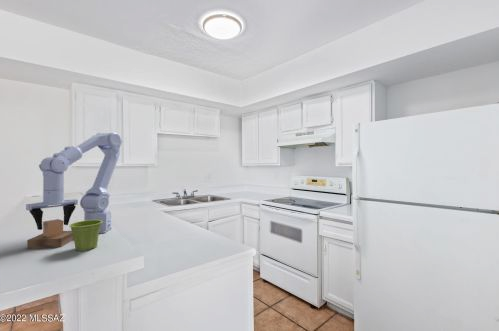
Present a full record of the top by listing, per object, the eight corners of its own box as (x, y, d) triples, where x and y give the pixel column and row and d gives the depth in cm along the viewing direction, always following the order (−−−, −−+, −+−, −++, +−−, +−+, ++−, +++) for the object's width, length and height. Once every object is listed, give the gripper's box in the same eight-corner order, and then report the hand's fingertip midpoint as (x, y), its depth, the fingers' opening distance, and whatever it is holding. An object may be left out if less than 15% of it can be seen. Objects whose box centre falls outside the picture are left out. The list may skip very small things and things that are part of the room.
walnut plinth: (75, 238, 91) (75, 230, 91) (61, 246, 81) (61, 238, 81) (46, 239, 89) (46, 231, 89) (27, 248, 79) (27, 240, 79)
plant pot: (65, 255, 74) (66, 227, 74) (72, 245, 82) (72, 221, 82) (100, 250, 78) (100, 224, 78) (103, 242, 86) (103, 218, 86)
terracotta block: (58, 232, 88) (58, 219, 88) (63, 234, 86) (63, 220, 86) (43, 235, 84) (43, 221, 84) (47, 237, 82) (47, 223, 82)
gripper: (72, 187, 93) (72, 221, 93) (23, 190, 81) (22, 229, 81) (80, 188, 89) (80, 224, 89) (30, 192, 77) (29, 233, 77)
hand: (53, 227), depth 85 cm, fingers open, 7 cm apart
